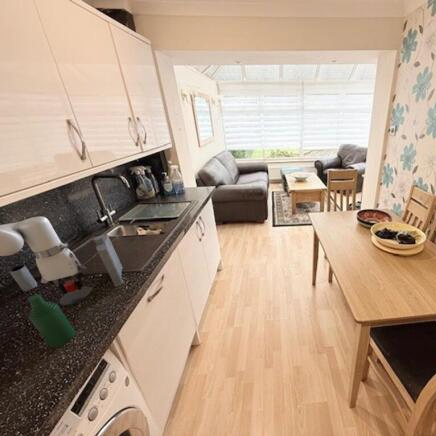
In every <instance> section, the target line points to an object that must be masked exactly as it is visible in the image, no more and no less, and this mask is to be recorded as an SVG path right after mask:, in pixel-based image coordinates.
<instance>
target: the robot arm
mask: <svg viewBox="0 0 436 436" xmlns="http://www.w3.org/2000/svg"><path fill="white" fill-rule="evenodd" d="M25 242H26V244H27V245H28V247H29V248H30V250H31V252H32V253H33V255H35V263H36V267H37V269H38V271H39V273H40V274H41V279H40V283H42V284H49V285H53V286H54V287H56V288H58V290H59V291H60V292H61V293H62V294H63V295H65V294H67V293H68V292H66V290H65V288H64V286H63V284H64V283H65V282H66V281H64V280H63V279H64V278H68V277H71V279H73V280H74V284H75V286H76V287H77V289H78V290H81V288H82V287H84V282H83V280H82V279H81V277H82V276H83V275H85V273H86V272H87V271H88V267H85V266H83V265H82V263H81V262H80V261H79V259H78V258H77V256H76V255H75V253H73V252H72V250H70V249H69V245H68V243H63V242H62V241H61V239H60V237H59V236H58V234H57V232H56V230H55V229H54V227H53V225H52V223H51V222H50V221H49V219H48V218H47V217H45V216H34V217H33V216H32V217H29V218H27V219H23V220H20V221H17V222H16V221H15V222H11V223H3V224H0V257H7V256H8V257H9V256H12V255H16V254H17V253H19V252H20V251H21V250H22V249H23V247H24V245H25Z"/></svg>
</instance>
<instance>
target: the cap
mask: <svg viewBox="0 0 436 436" xmlns="http://www.w3.org/2000/svg"><path fill="white" fill-rule="evenodd" d="M64 282H65V283H64V284H63V286H64V288H65V290H66V292H67V293H68V292H73V291H75V290H77V287H76V286H75V284H74V280H73V278H71V279H69V280H67V281H64Z"/></svg>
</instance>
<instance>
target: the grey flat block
mask: <svg viewBox="0 0 436 436" xmlns="http://www.w3.org/2000/svg"><path fill="white" fill-rule="evenodd" d="M92 240H93V242H94V243H95V248H96V250H97V253H98V255H99V257H100V260H101V261H102V263H103V265H104V267H105V269H106V271H107V273H108V275H109V277H110V279H111V281H112V283H113V285H114V287H116V288H118V287H121V286H122V285H124V284H125V283H124V279H123V277H122V272H123V265H122V263H121V260H120V259H119V256H118V254H117V252H116V250H115V248H114V245H113V244H112V241H111V239H110V236H109V235H108V234H107V233H106V234H105V233H104V234H102V235H97V236H95V237H93V238H92Z"/></svg>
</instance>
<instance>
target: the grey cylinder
mask: <svg viewBox="0 0 436 436" xmlns="http://www.w3.org/2000/svg"><path fill="white" fill-rule="evenodd" d="M8 272H9V273H10V275H11V277H13V279H14V280H15V282H16V283H17V285H18V286H19V287H20V289H21V290H22V291H23V292H29V290H30V291H32V290H34V289H36V288H37V287H38V286H37V285H39V284H38V283H37V281H36V280H35V278H34V276H33V275H32V273H31V272H30V271H29V270H28V268H27V266H26V265H25V264H20V265H16V266H14V267H12V268H10V269H9V271H8ZM35 287H36V288H35ZM33 288H34V289H33ZM31 289H32V290H31Z"/></svg>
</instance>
